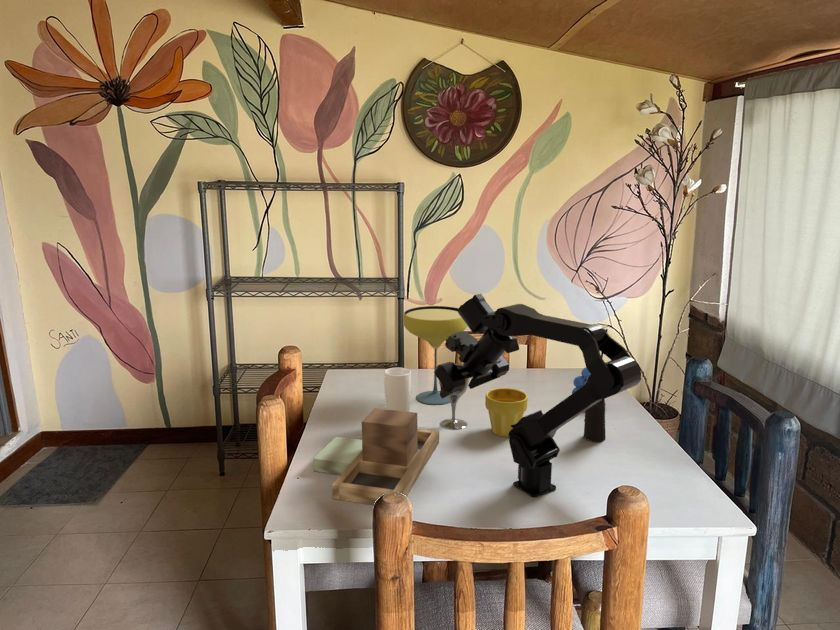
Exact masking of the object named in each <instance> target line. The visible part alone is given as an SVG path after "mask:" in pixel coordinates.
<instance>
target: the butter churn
mask: <svg viewBox="0 0 840 630" xmlns="http://www.w3.org/2000/svg"><path fill="white" fill-rule="evenodd" d="M605 330H606V332H607V333H608V328H605ZM600 355H601V357H602V359H604V357H603V356H604V354H603V353H602V352H601V351H600ZM587 379H588V378H585V381H587ZM583 421H584V425H583V427H584V428H583V429H584V430H583V437H584V438H585V439H586V440H587V441H589V442H593V443H601V442H604V441H606V398H605V399H602V400H601V401H599V402H598V403H596V404H595V405H593V406H592V407H590V408H589V409H587V410H586V411H584V420H583Z"/></svg>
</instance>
